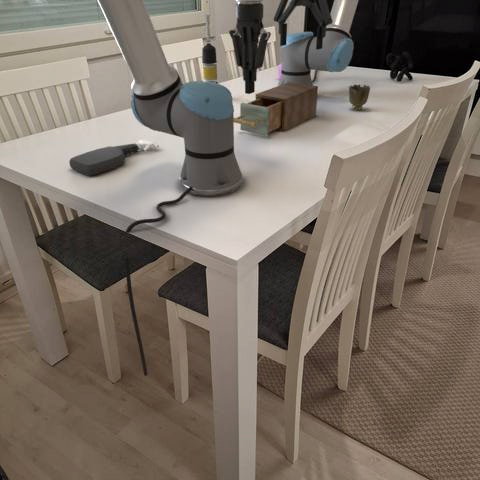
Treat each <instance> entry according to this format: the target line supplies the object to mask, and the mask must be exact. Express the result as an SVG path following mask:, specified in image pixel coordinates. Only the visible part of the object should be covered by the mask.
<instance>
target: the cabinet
mask: <svg viewBox="0 0 480 480" xmlns="http://www.w3.org/2000/svg"><path fill="white" fill-rule="evenodd" d="M318 88H319V86H318V85H314V84H313V85H307V84H300V83H294V82H288V83H285V84H283V85H280V86H278V85H277V86H275V87H272V88H268V89H266V90H262V91H260V92H258V93H255V100H256V99H259V98H265V99H271V100H277V101H282V102H283V110H282V126H281V127H279V128H277V129H275V130H276V131H280V132H286V131H288V130H290V129H292V128H294V127H296V126H298V125H300V124H303V123H305V122H306V121H309V120H310V119H312V118H314V117H316V116H317V103H318V92H319V89H318Z"/></svg>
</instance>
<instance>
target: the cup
mask: <svg viewBox="0 0 480 480" xmlns="http://www.w3.org/2000/svg"><path fill="white" fill-rule="evenodd" d="M370 92H371V87H370V86H369V85H367V84H364V85H363V86H361V84H358V85H357V84H354V85H349V86H348V98H349V100H348V101H349V103H350V104H351V108H352V110H354V111H361V110H362V109H363V106H364V105H366V103H367V102H368V100H369V97H370Z"/></svg>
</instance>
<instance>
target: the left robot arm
mask: <svg viewBox="0 0 480 480" xmlns="http://www.w3.org/2000/svg"><path fill="white" fill-rule="evenodd" d="M263 1H264V0H235V2H237V3H235V19H236V24H235V26H234V28H233V29H230V30H229V31H228V33H229V36H230V38H231V42H232V45H233V51H234V55H235V62H236V66H237V67H240V68H241V70H242V79H243V82H244V94H247V95H250V94H253V93H255V92H256V90H255V89H256V88H255V83H256V82H257V80H258V78H257V75H258V74H257V71H258V69H262V68H263V66H264V61H265V56H266V51H267V47H268V42H269V40H270V37H271V36H272V33H271V32H270V31H267V30H266V29H265V27H264V23H263V19H264V3H262V2H263ZM97 2H98V4H99V7H100V9H101V11H102V13H103V15H104V17H105V19H106V21H107V24H108V26H109V29H110V31H111V32H112V35H113V37H114V39H115V41H116V43H117V45H118V48H119V50H120V52H121V55H122V56H123V59H124V62H125V64H126V66H127V68H128V70H129V72H130V75H131V77H132V78H133V81H132V83H131V86H130V89H131V96H130V98H132V100H130V107H131V111H132V114H133V116H134V118H135V119H136V121H137V122H138V123H140V124H141V125H142V126H143V127H146V128H148V129H149V130H152V131H154V132H160V133H164V134H168V135H170V136H171V135H172V136H175V137H179V138H183V143H184V154H185V155H184V158H183V164H182V168H181V171H180V176H179V183H180V184H179V185H180V188H181V189H182V191H184V192H183V193H181V195H180V196H179V197H177V198H176V199H173V200H166V201H160V202H158V204H157V205H156V206H155V208H156V211H157V212H158V213H159V214H160V216H159V217H155V218H143V219H138V220H136V221H133V222H132V223H131V224H129V225H128V226H127V228H126V230H125V233H126V234H128V233H130V232H131V231H132V230H133V229H134V228H135V227H136V226H139V225H142V224H154V223H159V222H162V221H164V220H165V219H166V216H167V215H166V212H165V211H164V210H163V209H162V208H161V207H163V206H169V205H170V206H171V205H175V204H178V203H179V202H181V201H182V200H183V199H184V198H185V197H186V196H187V195H188V194H190V195H194V196H199V197H221V196H224V195H229V194H232V193H234V192H235V191H237V190H239V189H240V188H241V187H242V185H243V174H242V171H241V168H240V165H239V163H238V160H237V157H236V154H235V125H234V123H235V122H234V118H235V117H234V114H235V113H234V112H235V108H234V102H233V96H232V93H231V91H230V89H229V88H227V86H224V85H223V84H220V83H215V82H207V81H204V80H193V81H192V80H191V81H188V82H185V83H184V84H183V81H182V78H181V77H180V73H179V71H178V70H177V68H175V67H173V66H171V65H169V62H168V60H167V57H166V56H165V53H164V49H163V47H162V44H161V42H160V40H159V38H158V35H157V32H156V29H155V27H154V25H153V22H152V19H151V16H150V14H149V11H148V9H147V6H146V4H145V1H144V0H97ZM124 262H125V263H124V264H125V265H124V267H125V278H126V279H125V280H126V286H127V294H128V300H129V306H130V311H131V316H132V322H133V326H134V331H135V336H136V340H137V345H138V349H139V354H140V360H141V364H142V371H143V376H145V377H146V376H148V367H147V362H146V358H145V352H144V346H143V342H142V337H141V334H140V333H141V332H140V327H139V323H138V319H137V314H136V313H137V312H136V308H135V301H134V295H133V288H132V281H131V268H130V267H131V265H130V258H125V259H124Z"/></svg>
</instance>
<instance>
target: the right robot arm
mask: <svg viewBox="0 0 480 480" xmlns="http://www.w3.org/2000/svg"><path fill="white" fill-rule="evenodd" d="M317 1H318V2H317ZM317 1H316V0H290V2H289V0H280V1H279V4H278V6H277V9H276V12H275V14H274V16H273V22H276V23H277V24H278V35H280V37H279V46H280V47H281V63H282V64H281V77H280V79H278V83H277V86H280V85H283V84H285V83H288V82H294V83H300V84H307V85H314V84H313V83H314V82H315V81H316V79H317V73H318V71H320V72H328V73H341V72H343V71H345V70H346V69H347V67H348V66H349V65H350V62H351V60H352V57H353V53H354V52H353V51H354V48H355V46H354V41H353V40H352V35H351V33H350V30H351V27H352V24H353V20H354V16H355V14H356V10H357V7H358V3H359V0H333V4H332V7H331V11H330V8H329V5H328V2H327V0H317ZM288 2H289V3H288ZM317 3H318V4H319V6H318V4H317ZM287 5H288V6H287ZM297 7H308V8H309V9H310V11H311V13H312V14H313V16H314V18H315V20H316V22H317V23H318V26H317V27H316V29H317V30H316V36H314V32H313V31H303V32H301V31H300V32H294V33H289V34H288V23H287V22H286V21H287V20H288V19H289V17H290V16H291V15H292V13H293V12H294V11H295V9H296V8H297ZM319 7H320V8H319ZM312 71H314V75H313V79H312V76H311V74H312V73H311V72H312Z"/></svg>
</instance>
